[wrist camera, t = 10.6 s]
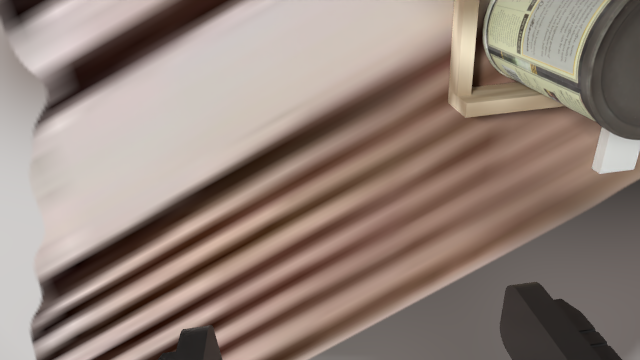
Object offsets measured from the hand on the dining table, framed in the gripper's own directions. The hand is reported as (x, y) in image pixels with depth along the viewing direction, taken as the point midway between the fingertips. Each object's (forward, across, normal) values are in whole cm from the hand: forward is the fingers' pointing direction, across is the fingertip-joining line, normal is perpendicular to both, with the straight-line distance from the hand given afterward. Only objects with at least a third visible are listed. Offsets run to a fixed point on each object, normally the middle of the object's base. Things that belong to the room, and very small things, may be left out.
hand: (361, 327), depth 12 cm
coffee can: (+28, -21, -2) cm, 35 cm away
